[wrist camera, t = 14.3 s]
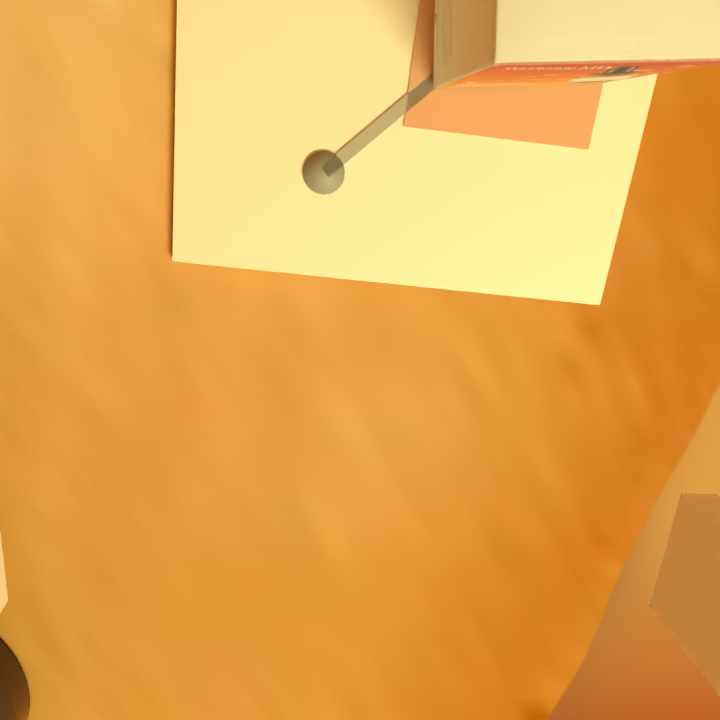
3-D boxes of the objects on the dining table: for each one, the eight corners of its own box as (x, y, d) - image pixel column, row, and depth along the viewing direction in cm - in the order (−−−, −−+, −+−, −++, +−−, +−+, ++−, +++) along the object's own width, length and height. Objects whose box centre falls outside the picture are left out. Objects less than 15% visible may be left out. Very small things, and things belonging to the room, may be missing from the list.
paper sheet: (174, 259, 32) (171, 261, 31) (182, -181, 26) (179, -187, 25) (596, 303, 34) (600, 305, 33) (695, -96, 28) (702, -100, 27)
